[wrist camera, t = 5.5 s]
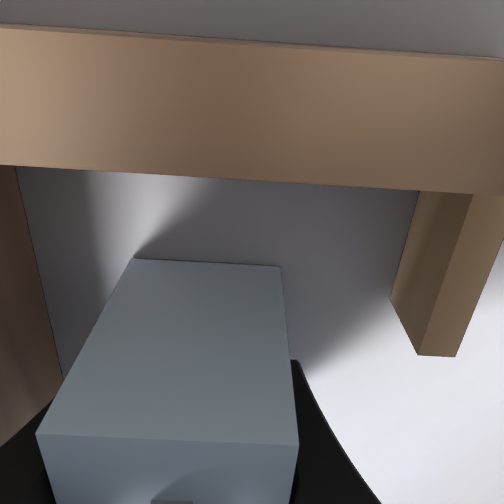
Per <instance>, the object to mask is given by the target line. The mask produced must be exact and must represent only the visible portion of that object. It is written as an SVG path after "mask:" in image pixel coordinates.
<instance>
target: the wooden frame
mask: <svg viewBox="0 0 504 504" xmlns="http://www.w3.org/2000/svg"><path fill="white" fill-rule="evenodd" d="M14 165H16V166H32V167H48V168H64V169H80V170H96V171H112V172H128V173H144V174H160V175H176V176H192V177H208V178H224V179H240V180H256V181H272V182H289V183H305V184H321V185H337V186H353V187H369V188H385V189H401V190H417V191H420V193H419V196H418V200H417V204H416V207H415V211H414V214H413V218H412V221H411V225H410V229H409V232H408V236H407V239H406V243H405V247H404V250H403V254H402V257H401V261H400V265H399V268H398V272H397V275H396V279H395V283H394V286H393V290H392V293H391V297H390V301H391V303H392V305H393V307H394V309H395V311H396V313H397V315H398V317H399V319H400V321H401V323H402V325H403V327H404V329H405V331H406V333H407V335H408V337H409V339H410V341H411V343H412V345H413V347H414V349H415V351H416V353H417V355H422V356H441V357H455V356H456V354H457V351H458V349H459V347H460V344H461V342H462V339H463V337H464V334H465V332H466V329H467V327H468V325H469V322H470V320H471V317H472V315H473V312H474V310H475V307H476V305H477V303H478V300H479V298H480V295H481V293H482V290H483V288H484V285H485V283H486V281H487V278H488V276H489V273H490V271H491V268H492V266H493V263H494V261H495V259H496V256H497V254H498V251H499V249H500V246H501V244H502V241H503V239H504V58H494V57H480V56H465V55H451V54H437V53H423V52H409V51H394V50H380V49H366V48H352V47H338V46H324V45H309V44H295V43H281V42H267V41H253V40H238V39H224V38H210V37H196V36H182V35H167V34H153V33H139V32H125V31H111V30H97V29H82V28H68V27H54V26H40V25H26V24H11V23H0V447H1V446H2V445H3V444H4V443H5V442H7V441H8V440H9V439H10V438H11V437H12V436H13V435H15V434H16V433H17V432H18V431H19V430H20V429H21V428H22V427H23V426H24V425H26V424H27V423H28V422H29V421H30V420H31V419H32V418H33V417H34V416H35V415H36V414H38V413H39V412H40V411H41V410H42V409H43V408H44V407H45V406H46V405H47V404H48V403H49V402H50V401H51V400H52V399H53V398H54V397H55V396H56V395H57V393H58V391H59V389H60V387H61V386H62V384H63V378H62V373H61V369H60V365H59V360H58V356H57V351H56V347H55V343H54V338H53V334H52V330H51V325H50V321H49V316H48V312H47V308H46V303H45V299H44V295H43V290H42V286H41V282H40V277H39V273H38V268H37V264H36V260H35V255H34V251H33V247H32V242H31V238H30V233H29V229H28V225H27V220H26V216H25V212H24V207H23V203H22V199H21V194H20V190H19V185H18V181H17V177H16V172H15V168H14Z"/></svg>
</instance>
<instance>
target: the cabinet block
mask: <svg viewBox="0 0 504 504" xmlns="http://www.w3.org/2000/svg"><path fill="white" fill-rule="evenodd" d="M35 435H36V438H37V441H38V445H39V448H40V451H41V454H42V458H43V461H44V464H45V467H46V471H47V474H48V477H49V481H50V484H51V487H52V490H53V494H54V497H55V500H56V503H57V504H289V499H290V494H291V488H292V483H293V477H294V472H295V466H296V461H297V455H298V450H299V438H298V429H297V420H296V410H295V401H294V391H293V382H292V373H291V363H290V354H289V344H288V335H287V326H286V316H285V307H284V297H283V288H282V279H281V269H280V266H262V265H244V264H225V263H207V262H189V261H171V260H153V259H134V258H131V260H130V261H129V263H128V265H127V267H126V269H125V270H124V272H123V274H122V276H121V278H120V280H119V281H118V283H117V285H116V287H115V289H114V291H113V292H112V294H111V296H110V298H109V300H108V302H107V303H106V305H105V307H104V309H103V311H102V312H101V314H100V316H99V318H98V320H97V322H96V323H95V325H94V327H93V329H92V331H91V333H90V334H89V336H88V338H87V340H86V342H85V344H84V345H83V347H82V349H81V351H80V353H79V355H78V356H77V358H76V360H75V362H74V364H73V365H72V367H71V369H70V371H69V373H68V375H67V376H66V378H65V380H64V382H63V384H62V386H61V387H60V389H59V391H58V393H57V395H56V397H55V398H54V400H53V402H52V404H51V406H50V407H49V409H48V411H47V413H46V415H45V417H44V418H43V420H42V422H41V424H40V426H39V428H38V429H37V431H36V433H35Z"/></svg>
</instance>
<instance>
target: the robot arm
mask: <svg viewBox="0 0 504 504" xmlns="http://www.w3.org/2000/svg"><path fill="white" fill-rule="evenodd" d="M290 363H291V373H292V382H293V391H294V401H295V410H296V420H297V429H298V438H299V450H298V455H297V461H296V466H295V472H294V477H293V483H292V488H291V494H290V499H289V504H381V502H380V501H379V500H378V498H377V497H376V496H375V494H374V493H373V492H372V490H371V489H370V488H369V486H368V485H367V484H366V482H365V481H364V479H363V478H362V477H361V475H360V474H359V472H358V471H357V469H356V468H355V466H354V465H353V463H352V462H351V460H350V459H349V457H348V456H347V454H346V453H345V451H344V449H343V448H342V446H341V445H340V443H339V441H338V440H337V438H336V436H335V435H334V433H333V431H332V429H331V428H330V426H329V424H328V422H327V420H326V419H325V417H324V415H323V413H322V411H321V409H320V408H319V406H318V404H317V402H316V400H315V398H314V395H313V393H312V391H311V389H310V387H309V385H308V382H307V380H306V378H305V375H304V373H303V370H302V368H301V365H300V363H299V362H298V361H297V360H290ZM55 397H56V396H55ZM55 397H54V398H55ZM54 398H53V399H52V400H51V401H50V402H49V403H48V404H47V405H46V406H45V407H44V408H43V409H42V410H41V411H40V412H39V413H38V414H36V415H35V416H34V417H33V418H32V419H31V420H30V421H29V422H28V423H27V424H26V425H24V426H23V427H22V428H21V429H20V430H19V431H18V432H17V433H16V434H15V435H13V436H12V437H11V438H10V439H9V440H8V441H7V442H5V443H4V444H3V445H2V446H1V447H0V504H57V503H56V500H55V497H54V494H53V490H52V487H51V484H50V481H49V477H48V474H47V471H46V467H45V464H44V461H43V458H42V454H41V451H40V448H39V445H38V441H37V438H36V435H35V433H36V431H37V429H38V428H39V426H40V424H41V422H42V420H43V418H44V417H45V415H46V413H47V411H48V409H49V407H50V406H51V404H52V402H53V400H54Z"/></svg>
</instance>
